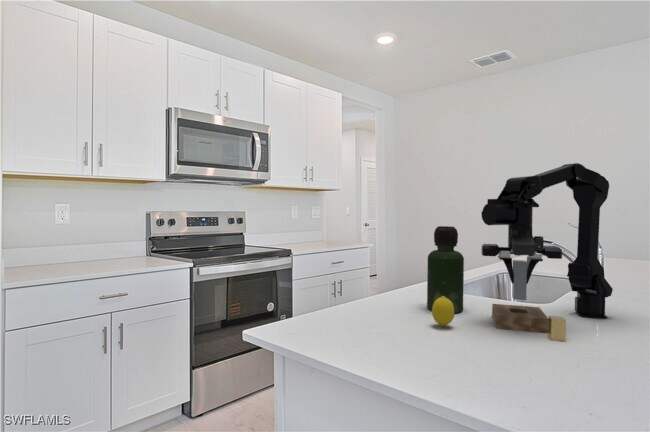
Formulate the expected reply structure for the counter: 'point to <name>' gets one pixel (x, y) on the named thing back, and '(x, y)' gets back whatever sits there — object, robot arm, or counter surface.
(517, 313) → the socket block
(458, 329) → the counter surface
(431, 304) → the dark green bottle
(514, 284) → the long pin
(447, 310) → the lemon
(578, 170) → the robot arm
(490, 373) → the counter surface
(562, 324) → the short pin
